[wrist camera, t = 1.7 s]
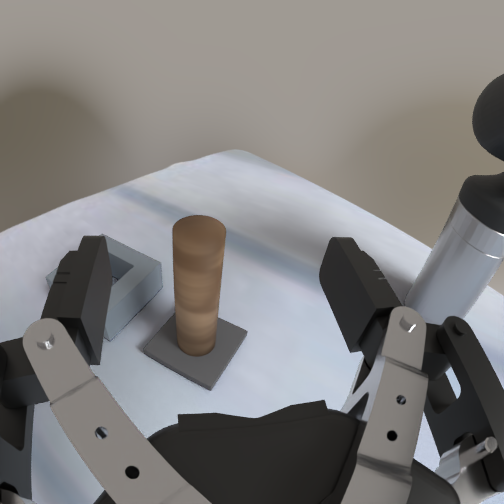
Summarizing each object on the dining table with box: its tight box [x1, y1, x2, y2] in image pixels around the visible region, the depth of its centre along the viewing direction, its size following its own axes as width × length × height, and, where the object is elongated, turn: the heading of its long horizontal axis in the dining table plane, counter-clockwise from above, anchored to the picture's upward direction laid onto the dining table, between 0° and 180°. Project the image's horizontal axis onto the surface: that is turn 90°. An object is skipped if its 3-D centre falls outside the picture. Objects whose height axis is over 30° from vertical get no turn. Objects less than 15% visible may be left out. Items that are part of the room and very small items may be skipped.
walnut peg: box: [173, 215, 226, 357], centre depth 28 cm, size 4×4×14 cm
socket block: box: [46, 234, 163, 341], centre depth 35 cm, size 10×10×4 cm
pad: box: [143, 313, 247, 391], centre depth 33 cm, size 8×8×1 cm
